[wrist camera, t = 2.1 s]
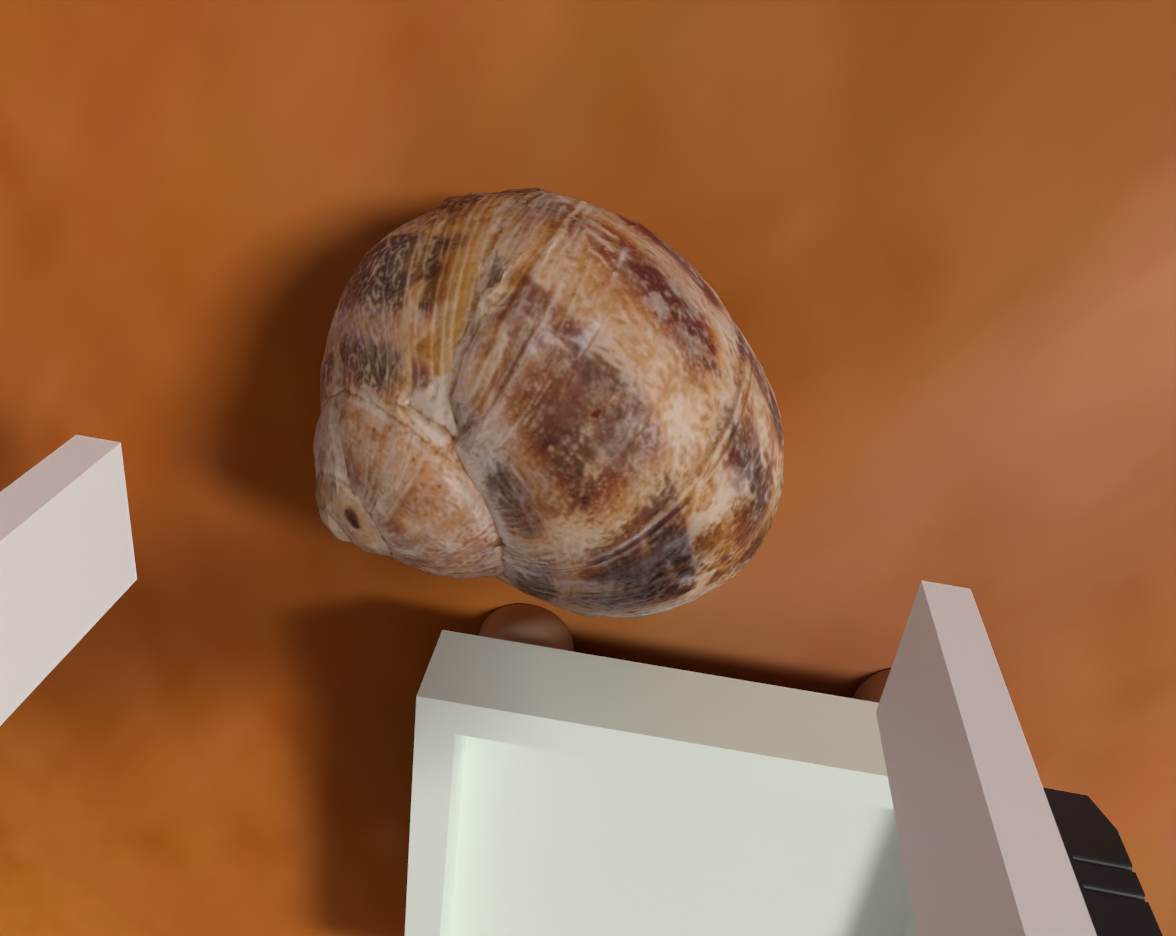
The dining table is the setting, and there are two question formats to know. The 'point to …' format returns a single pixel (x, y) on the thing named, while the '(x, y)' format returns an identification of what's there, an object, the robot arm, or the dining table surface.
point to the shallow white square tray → (642, 798)
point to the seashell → (545, 409)
